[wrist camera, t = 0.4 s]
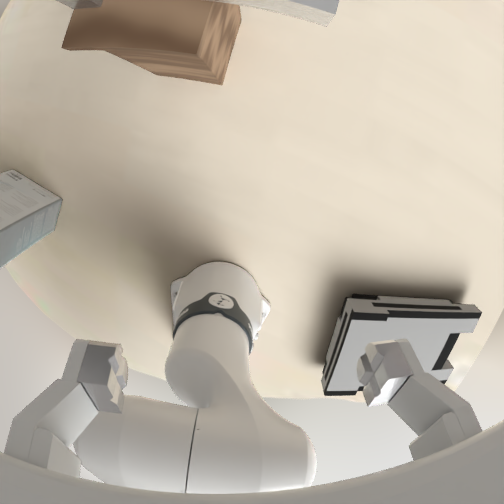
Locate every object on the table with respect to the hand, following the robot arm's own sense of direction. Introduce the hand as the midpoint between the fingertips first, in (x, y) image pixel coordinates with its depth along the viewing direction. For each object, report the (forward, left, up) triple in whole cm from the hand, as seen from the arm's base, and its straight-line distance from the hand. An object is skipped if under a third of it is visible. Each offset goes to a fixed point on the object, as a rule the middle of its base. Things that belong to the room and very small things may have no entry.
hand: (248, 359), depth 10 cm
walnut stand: (+19, +14, -42) cm, 48 cm away
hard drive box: (-13, +42, -43) cm, 62 cm away
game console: (-24, -39, -43) cm, 63 cm away
